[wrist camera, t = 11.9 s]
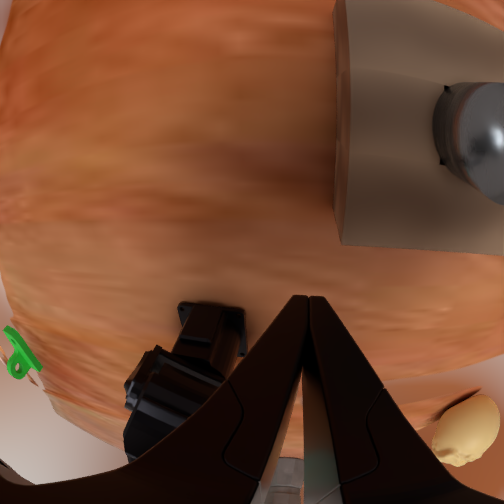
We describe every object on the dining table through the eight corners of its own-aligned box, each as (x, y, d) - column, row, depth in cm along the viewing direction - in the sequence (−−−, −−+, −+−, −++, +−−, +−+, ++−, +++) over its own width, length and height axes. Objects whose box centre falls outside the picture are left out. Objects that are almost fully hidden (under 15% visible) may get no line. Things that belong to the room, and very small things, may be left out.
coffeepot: (254, 455, 47) (237, 528, 31) (295, 452, 43) (283, 533, 28) (286, 472, 52) (276, 533, 37) (322, 469, 48) (315, 534, 33)
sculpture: (417, 421, 33) (423, 478, 24) (474, 381, 27) (491, 443, 17) (451, 425, 34) (458, 473, 24) (500, 390, 27) (515, 440, 18)
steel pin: (462, 166, 15) (534, 212, 8) (398, 154, 16) (459, 197, 9) (467, 94, 12) (548, 105, 5) (400, 76, 13) (468, 65, 6)
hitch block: (487, 223, 17) (521, 257, 12) (332, 207, 19) (341, 244, 14) (502, 59, 10) (546, 59, 5) (332, 12, 12) (342, -20, 7)
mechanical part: (43, 366, 49) (27, 389, 42) (30, 359, 50) (15, 380, 43) (18, 330, 43) (-1, 354, 36) (7, 325, 44) (-11, 346, 37)
